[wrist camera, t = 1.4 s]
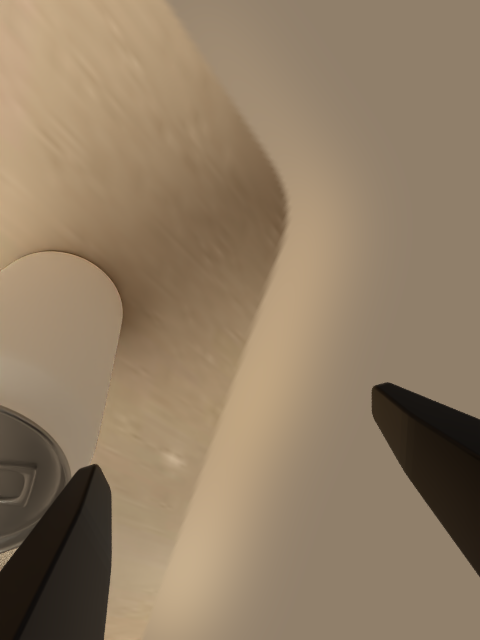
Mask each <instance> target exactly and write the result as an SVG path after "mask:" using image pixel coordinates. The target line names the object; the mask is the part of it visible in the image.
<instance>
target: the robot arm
mask: <svg viewBox="0 0 480 640" xmlns="http://www.w3.org/2000/svg"><path fill="white" fill-rule="evenodd" d="M372 414H373V417H374V420H375V422H376V423H377V425H378V427H379V429H380V430H381V432H382V434H383V436H384V437H385V439H386V441H387V442H388V444H389V446H390V448H391V449H392V451H393V453H394V455H395V456H396V458H397V460H398V462H399V464H400V465H401V467H402V468H403V470H404V472H405V473H406V475H407V476H408V478H409V479H410V481H411V482H412V483H413V485H414V486H415V487H416V489H417V490H418V492H419V493H420V494H421V496H422V497H423V499H424V500H425V502H426V503H427V504H428V506H429V507H430V508H431V510H432V511H433V513H434V514H435V515H436V517H437V518H438V520H439V521H440V522H441V524H442V525H443V527H444V528H445V529H446V531H447V532H448V534H449V535H450V536H451V538H452V539H453V541H454V542H455V543H456V545H457V546H458V547H459V549H460V550H461V552H462V553H463V554H464V556H465V557H466V558H467V560H468V561H469V563H470V564H471V565H472V567H473V568H474V570H475V571H476V573H477V574H478V575H479V577H480V419H478V418H475V417H473V416H470V415H468V414H465V413H463V412H460V411H458V410H456V409H453V408H450V407H448V406H446V405H443V404H440V403H438V402H436V401H433V400H431V399H428V398H426V397H424V396H421V395H419V394H416V393H414V392H411V391H409V390H406V389H404V388H402V387H399V386H397V385H394V384H392V383H388V382H387V383H383V384H379V385H375V386H374V387H373V388H372ZM111 558H112V508H111V490H110V487H109V484H108V482H107V480H106V478H105V476H104V474H103V472H102V470H101V468H100V467H99V466H98V465H97V464H93V465H89V466H86V467H82V468H80V469H79V470H78V471H77V472H76V473H75V474H74V476H73V477H72V478H71V480H70V481H69V482H68V483H67V485H66V486H65V487H64V489H63V490H62V491H61V493H60V494H59V495H58V497H57V498H56V499H55V500H54V502H53V503H52V504H51V506H50V507H49V508H48V510H47V511H46V512H45V514H44V515H43V516H42V517H41V519H40V520H39V521H38V523H37V524H36V525H35V527H34V528H33V529H32V531H31V532H30V533H29V535H28V536H27V537H26V538H25V540H24V541H23V542H22V544H21V545H20V546H19V548H18V549H17V550H16V552H15V553H14V554H13V555H12V557H11V558H10V559H9V561H8V562H7V563H6V565H5V566H4V567H3V569H2V570H1V571H0V640H104V632H105V623H106V613H107V604H108V594H109V585H110V575H111Z"/></svg>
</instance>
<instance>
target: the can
mask: <svg viewBox="0 0 480 640" xmlns="http://www.w3.org/2000/svg"><path fill="white" fill-rule="evenodd" d="M122 318H123V308H122V302H121V298H120V295H119V293H118V290H117V288H116V287H115V285H114V283H113V282H112V281H111V279H110V278H109V277H108V276H107V275H106V274H105V273H104V272H103V271H102V270H101V269H100V268H98V267H97V266H96V265H94V264H93V263H91V262H89V261H87V260H85V259H83V258H81V257H79V256H76V255H73V254H69V253H64V252H55V251H46V252H38V253H33V254H29V255H26V256H24V257H22V258H19V259H18V260H16V261H14V262H12V263H11V264H9V265H8V266H7V267H5V268H4V269H2V270H1V271H0V553H4V552H7V551H10V550H12V549H15V548H17V547H19V546H20V545H21V544H22V542H23V541H24V540H25V538H26V537H27V536H28V535H29V533H30V532H31V531H32V529H33V528H34V527H35V525H36V524H37V523H38V521H39V520H40V519H41V517H42V516H43V515H44V514H45V512H46V511H47V510H48V508H49V507H50V506H51V504H52V503H53V502H54V500H55V499H56V498H57V497H58V495H59V494H60V493H61V491H62V490H63V489H64V487H65V486H66V485H67V483H68V482H69V481H70V480H71V478H72V477H73V476H74V474H75V473H76V472H77V471H78V470H79V469H80V468H82V467H86V466H89V465H90V463H91V460H92V458H93V455H94V452H95V448H96V444H97V440H98V436H99V432H100V427H101V423H102V418H103V413H104V409H105V404H106V399H107V394H108V390H109V385H110V380H111V375H112V370H113V365H114V361H115V356H116V351H117V346H118V341H119V336H120V330H121V325H122Z"/></svg>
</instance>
